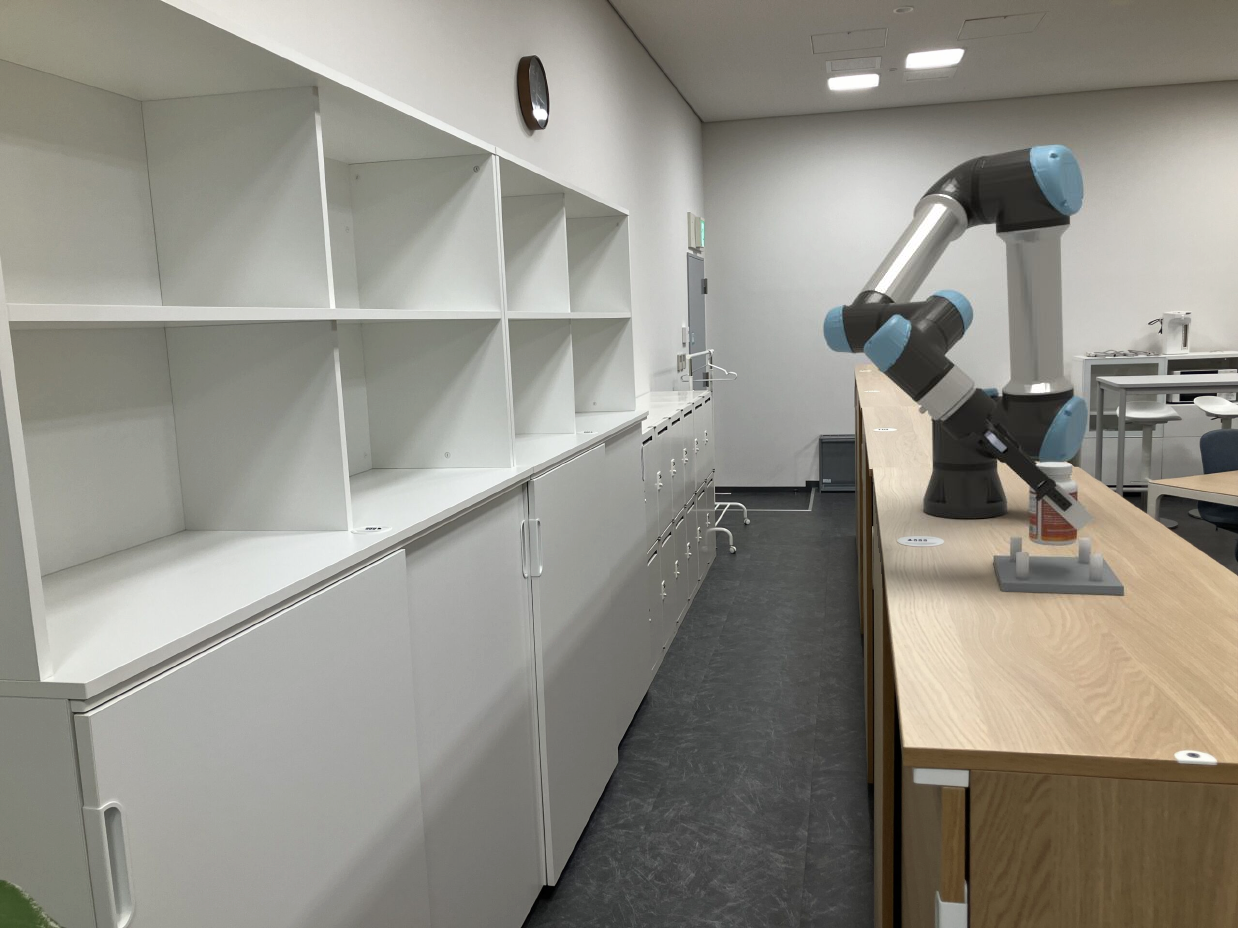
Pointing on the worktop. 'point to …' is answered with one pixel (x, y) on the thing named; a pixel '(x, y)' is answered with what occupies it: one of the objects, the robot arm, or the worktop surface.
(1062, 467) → the pill bottle
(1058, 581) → the peg board
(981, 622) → the worktop surface
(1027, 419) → the robot arm
